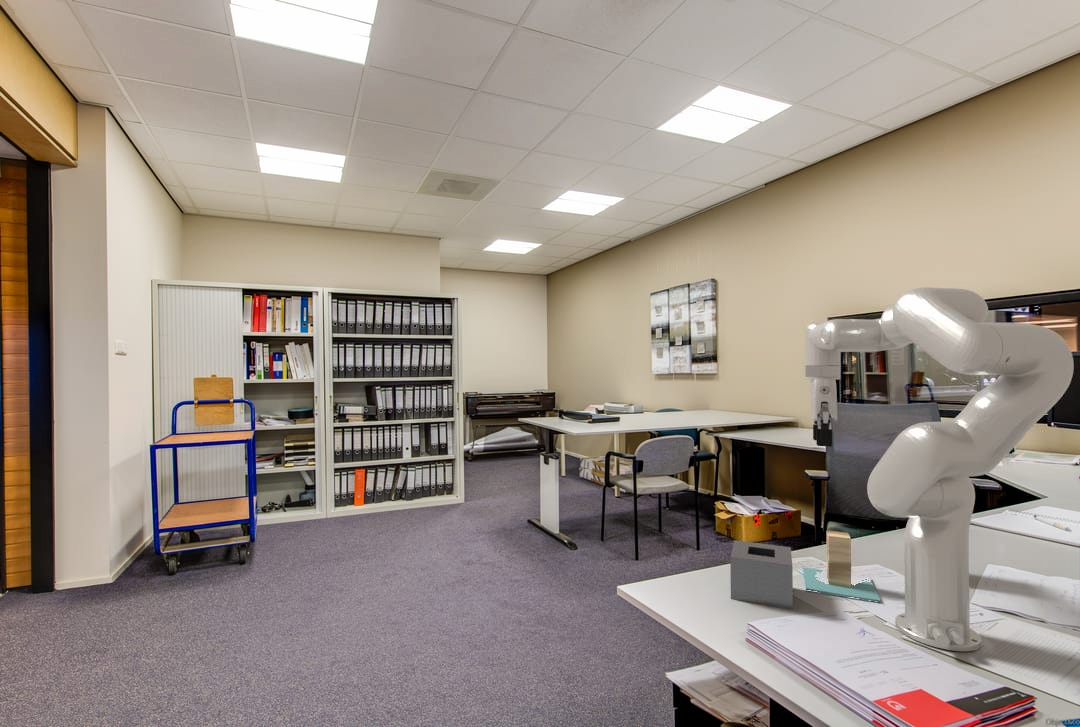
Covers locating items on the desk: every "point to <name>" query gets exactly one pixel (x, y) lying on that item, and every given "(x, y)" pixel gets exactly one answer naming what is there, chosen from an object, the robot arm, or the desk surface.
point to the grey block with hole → (762, 574)
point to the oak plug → (838, 558)
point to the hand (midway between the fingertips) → (822, 443)
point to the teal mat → (840, 587)
